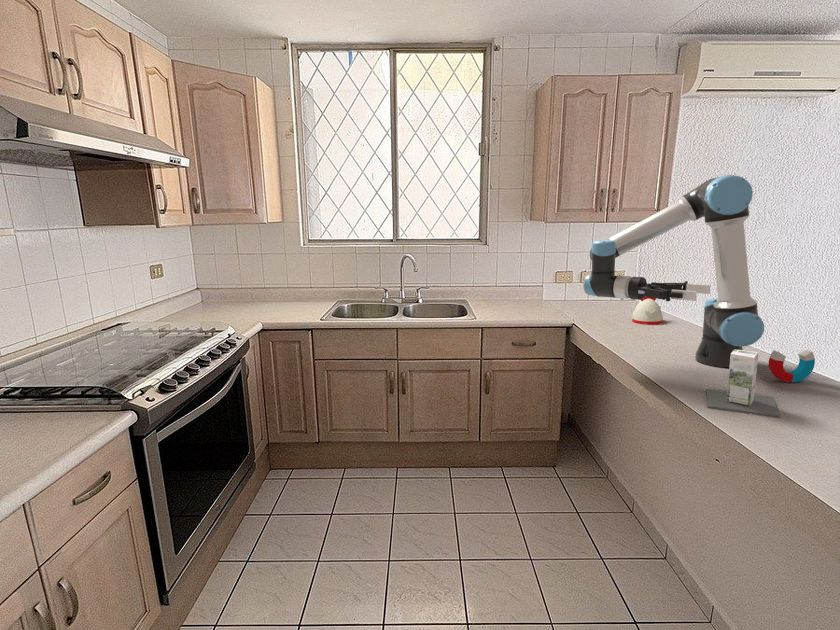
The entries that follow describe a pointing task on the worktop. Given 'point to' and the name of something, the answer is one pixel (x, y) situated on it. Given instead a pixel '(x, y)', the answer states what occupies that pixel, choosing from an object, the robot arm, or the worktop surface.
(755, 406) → the rubber mat
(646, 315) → the cream beanie hat
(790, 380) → the magnet
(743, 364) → the syrup box
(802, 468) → the worktop surface
